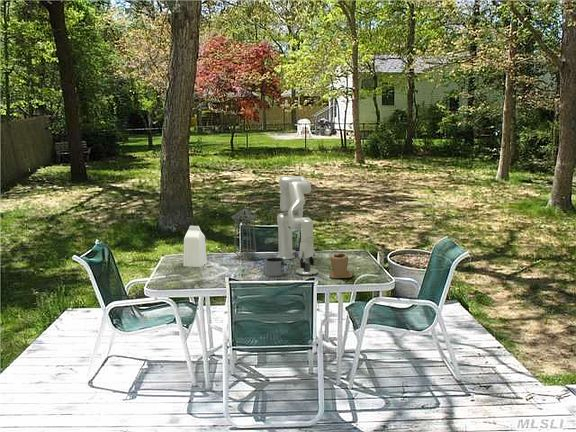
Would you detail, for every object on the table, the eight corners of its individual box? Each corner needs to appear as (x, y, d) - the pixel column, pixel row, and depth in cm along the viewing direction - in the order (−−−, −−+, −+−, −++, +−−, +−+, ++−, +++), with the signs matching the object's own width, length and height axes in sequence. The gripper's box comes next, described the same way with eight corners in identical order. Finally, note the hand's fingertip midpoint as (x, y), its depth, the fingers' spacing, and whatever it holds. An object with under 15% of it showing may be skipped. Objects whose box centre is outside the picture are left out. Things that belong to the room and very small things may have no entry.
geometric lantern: (230, 259, 380) (229, 209, 375) (239, 255, 395) (238, 206, 390) (252, 261, 376) (251, 210, 371) (260, 256, 391) (259, 207, 385)
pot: (269, 269, 353) (269, 256, 351) (291, 273, 343) (291, 259, 342) (258, 274, 343) (257, 259, 342) (280, 277, 334) (280, 263, 332)
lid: (303, 269, 353) (303, 259, 352) (322, 272, 346) (322, 261, 344) (291, 274, 342) (291, 263, 341) (310, 277, 335) (310, 266, 333)
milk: (183, 266, 364) (182, 227, 360) (190, 262, 375) (189, 224, 371) (200, 267, 361) (199, 227, 357) (207, 263, 372) (206, 224, 368)
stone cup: (330, 280, 327) (330, 255, 325) (328, 275, 339) (328, 251, 337) (355, 280, 327) (356, 255, 325) (353, 275, 339) (353, 251, 337)
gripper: (309, 236, 350) (309, 263, 352) (294, 241, 336) (294, 268, 338) (319, 237, 345) (319, 264, 348) (304, 242, 331) (304, 270, 334)
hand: (307, 266), depth 343 cm, fingers open, 9 cm apart
